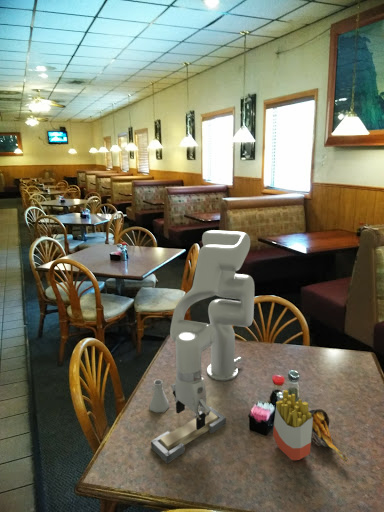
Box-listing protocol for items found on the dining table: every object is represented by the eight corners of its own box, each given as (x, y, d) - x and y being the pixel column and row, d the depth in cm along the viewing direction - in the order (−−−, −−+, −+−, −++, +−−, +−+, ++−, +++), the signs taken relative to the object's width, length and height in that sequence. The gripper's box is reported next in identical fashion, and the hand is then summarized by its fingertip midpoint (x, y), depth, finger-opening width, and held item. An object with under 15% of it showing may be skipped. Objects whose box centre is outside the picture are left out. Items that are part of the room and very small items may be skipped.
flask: (166, 414, 127) (165, 389, 124) (146, 412, 128) (144, 387, 126) (171, 401, 134) (170, 377, 131) (152, 399, 135) (151, 375, 133)
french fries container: (298, 467, 105) (302, 413, 100) (271, 442, 114) (274, 392, 109) (309, 460, 107) (313, 407, 102) (282, 437, 116) (285, 387, 111)
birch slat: (209, 419, 125) (209, 410, 124) (217, 425, 122) (217, 416, 121) (160, 447, 113) (160, 438, 112) (168, 455, 110) (167, 446, 109)
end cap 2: (211, 433, 118) (211, 426, 117) (195, 420, 124) (195, 414, 123) (225, 423, 122) (226, 417, 121) (209, 411, 128) (209, 405, 127)
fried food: (317, 405, 123) (364, 422, 107) (313, 440, 121) (360, 462, 105) (296, 403, 119) (341, 419, 103) (292, 439, 117) (337, 461, 101)
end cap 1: (168, 437, 117) (168, 430, 116) (184, 451, 111) (184, 445, 110) (151, 447, 113) (150, 441, 112) (167, 463, 107) (166, 456, 106)
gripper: (218, 379, 108) (218, 428, 112) (180, 356, 120) (182, 400, 125) (199, 390, 103) (200, 440, 108) (162, 364, 115) (164, 410, 120)
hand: (190, 419), depth 116 cm, fingers open, 9 cm apart
